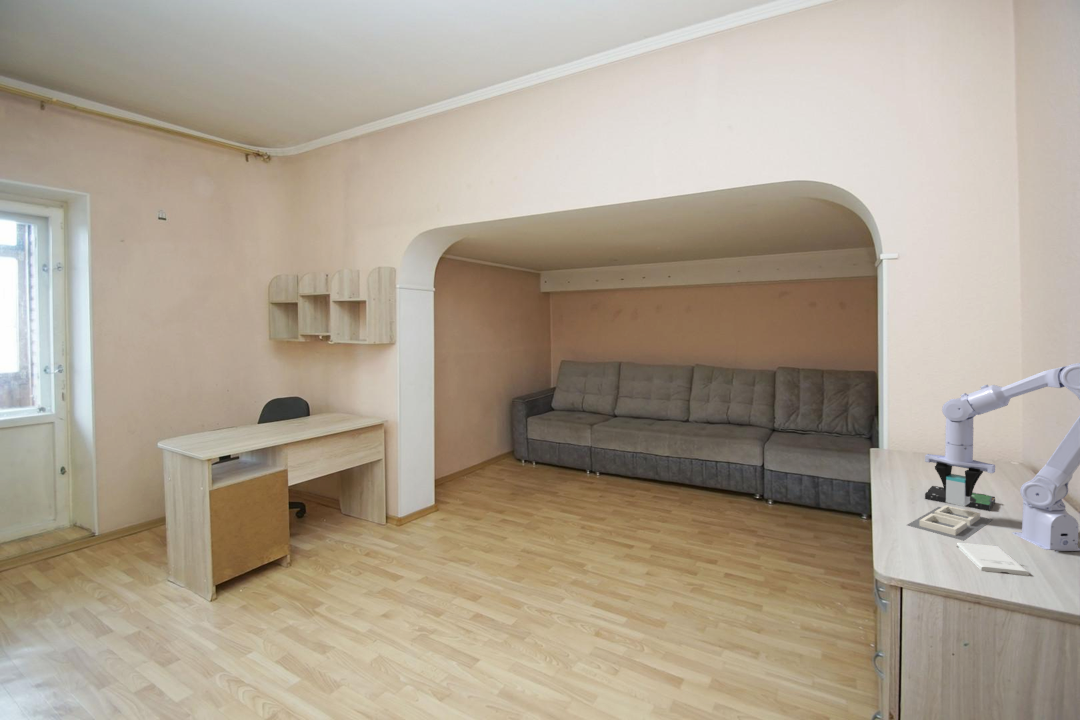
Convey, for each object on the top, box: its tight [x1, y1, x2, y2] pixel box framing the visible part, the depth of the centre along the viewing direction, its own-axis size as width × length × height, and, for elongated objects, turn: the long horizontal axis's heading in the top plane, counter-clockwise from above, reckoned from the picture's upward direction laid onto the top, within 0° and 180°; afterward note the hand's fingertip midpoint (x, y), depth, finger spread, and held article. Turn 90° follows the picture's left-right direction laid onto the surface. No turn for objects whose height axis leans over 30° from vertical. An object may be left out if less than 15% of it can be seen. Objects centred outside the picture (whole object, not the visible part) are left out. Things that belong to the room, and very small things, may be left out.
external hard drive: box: [956, 542, 1030, 577], centre depth 114 cm, size 2×8×12 cm
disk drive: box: [924, 485, 996, 512], centre depth 149 cm, size 10×3×15 cm
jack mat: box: [906, 506, 994, 541], centre depth 134 cm, size 21×12×1 cm, turn 124°
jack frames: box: [919, 504, 981, 535], centre depth 134 cm, size 17×8×2 cm, turn 124°
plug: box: [946, 473, 970, 507], centre depth 136 cm, size 4×4×7 cm
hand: (958, 493), depth 136 cm, fingers closed on plug, 4 cm apart
